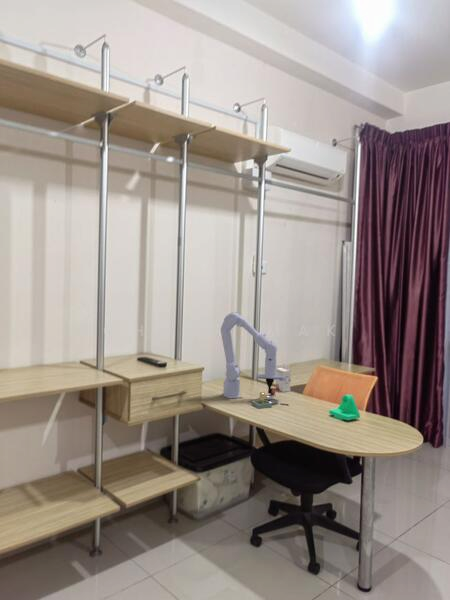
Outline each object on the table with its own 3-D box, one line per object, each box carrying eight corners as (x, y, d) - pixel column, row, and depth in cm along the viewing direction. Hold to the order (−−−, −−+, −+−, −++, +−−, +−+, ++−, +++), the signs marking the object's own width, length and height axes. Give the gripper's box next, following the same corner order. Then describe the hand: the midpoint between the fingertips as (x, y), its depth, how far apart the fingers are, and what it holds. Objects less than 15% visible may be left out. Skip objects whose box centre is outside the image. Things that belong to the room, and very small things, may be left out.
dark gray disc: (252, 400, 246) (252, 398, 246) (271, 398, 251) (271, 396, 251) (262, 406, 236) (262, 404, 236) (281, 404, 241) (282, 402, 241)
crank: (269, 401, 241) (269, 392, 241) (261, 400, 243) (262, 391, 242) (277, 396, 250) (277, 388, 250) (270, 395, 252) (270, 387, 252)
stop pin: (258, 404, 238) (259, 392, 238) (264, 404, 238) (264, 392, 238) (259, 405, 235) (260, 393, 235) (265, 405, 236) (265, 393, 235)
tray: (251, 404, 239) (252, 400, 239) (264, 403, 242) (265, 399, 241) (258, 408, 232) (258, 404, 232) (271, 407, 235) (271, 403, 235)
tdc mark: (280, 404, 240) (280, 403, 240) (280, 403, 241) (280, 403, 241) (288, 405, 239) (288, 404, 239) (288, 404, 240) (288, 404, 240)
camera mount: (328, 415, 224) (329, 393, 223) (340, 413, 228) (340, 391, 227) (347, 422, 214) (348, 399, 213) (359, 420, 218) (360, 397, 217)
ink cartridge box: (275, 388, 274) (276, 362, 273) (283, 387, 276) (283, 362, 275) (282, 392, 266) (283, 365, 265) (290, 391, 268) (291, 365, 267)
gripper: (256, 367, 246) (255, 394, 246) (284, 369, 244) (283, 395, 245) (256, 365, 253) (255, 390, 253) (284, 366, 251) (283, 392, 252)
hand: (269, 393), depth 250 cm, fingers closed, pressing on crank
